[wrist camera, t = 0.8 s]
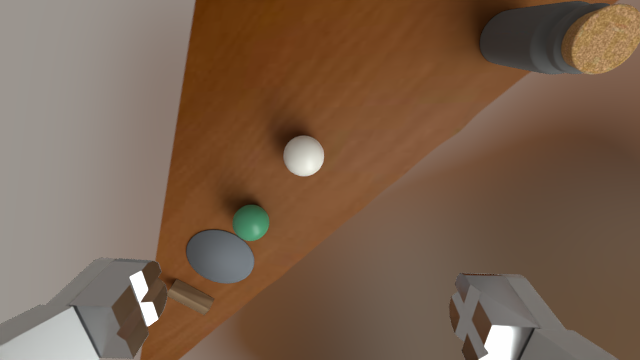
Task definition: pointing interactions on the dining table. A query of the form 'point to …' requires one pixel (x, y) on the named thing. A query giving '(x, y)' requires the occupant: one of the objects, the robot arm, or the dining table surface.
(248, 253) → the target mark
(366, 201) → the dining table surface
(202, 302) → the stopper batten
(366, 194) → the dining table surface
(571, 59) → the bottle
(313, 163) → the cue ball
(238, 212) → the green ball
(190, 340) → the dining table surface
